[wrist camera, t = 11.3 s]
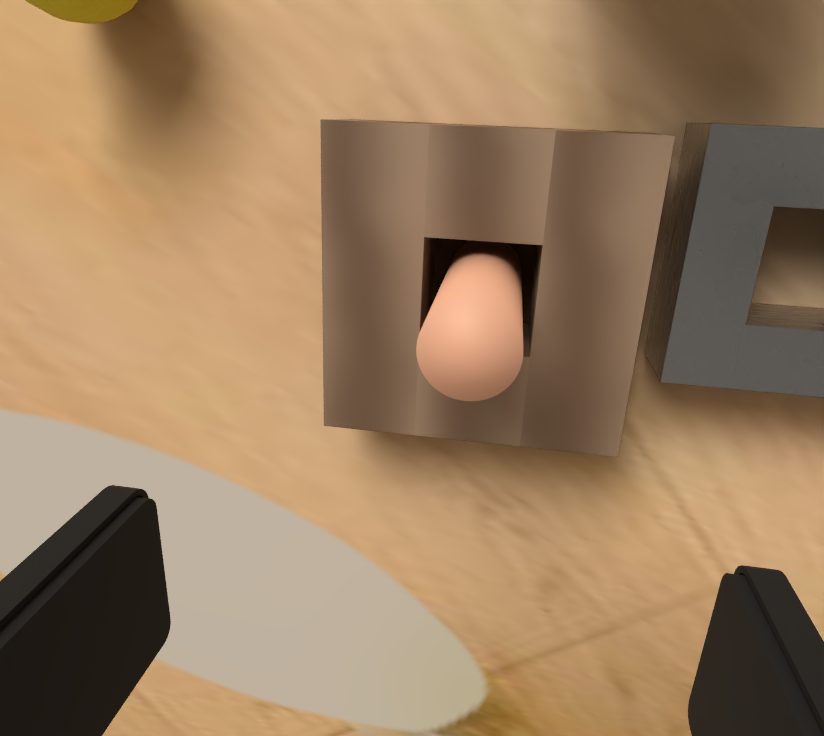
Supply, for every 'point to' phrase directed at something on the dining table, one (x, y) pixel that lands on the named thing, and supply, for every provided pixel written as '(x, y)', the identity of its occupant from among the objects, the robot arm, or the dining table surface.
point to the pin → (475, 324)
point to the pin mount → (735, 263)
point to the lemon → (85, 9)
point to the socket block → (494, 222)
